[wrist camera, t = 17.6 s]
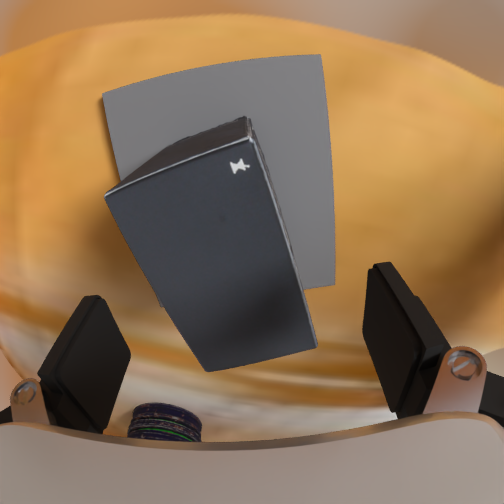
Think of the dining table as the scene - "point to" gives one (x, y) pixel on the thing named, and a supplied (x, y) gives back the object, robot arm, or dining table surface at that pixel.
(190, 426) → the storage jar
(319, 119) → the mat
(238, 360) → the small box
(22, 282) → the dining table surface
